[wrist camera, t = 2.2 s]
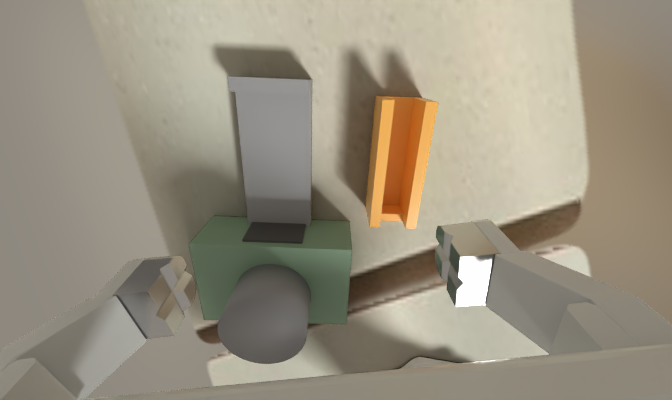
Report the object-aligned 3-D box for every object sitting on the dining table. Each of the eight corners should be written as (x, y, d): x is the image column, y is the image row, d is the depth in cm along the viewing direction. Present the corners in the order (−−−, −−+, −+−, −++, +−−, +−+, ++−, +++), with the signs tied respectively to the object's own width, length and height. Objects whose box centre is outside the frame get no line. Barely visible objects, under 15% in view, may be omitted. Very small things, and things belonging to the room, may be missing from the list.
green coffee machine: (359, 81, 27) (371, 85, 17) (344, 287, 37) (347, 366, 27) (191, 74, 27) (104, 74, 17) (223, 283, 37) (181, 360, 27)
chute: (421, 97, 28) (438, 102, 23) (404, 207, 33) (415, 228, 28) (375, 95, 28) (382, 99, 23) (365, 205, 33) (369, 227, 28)
